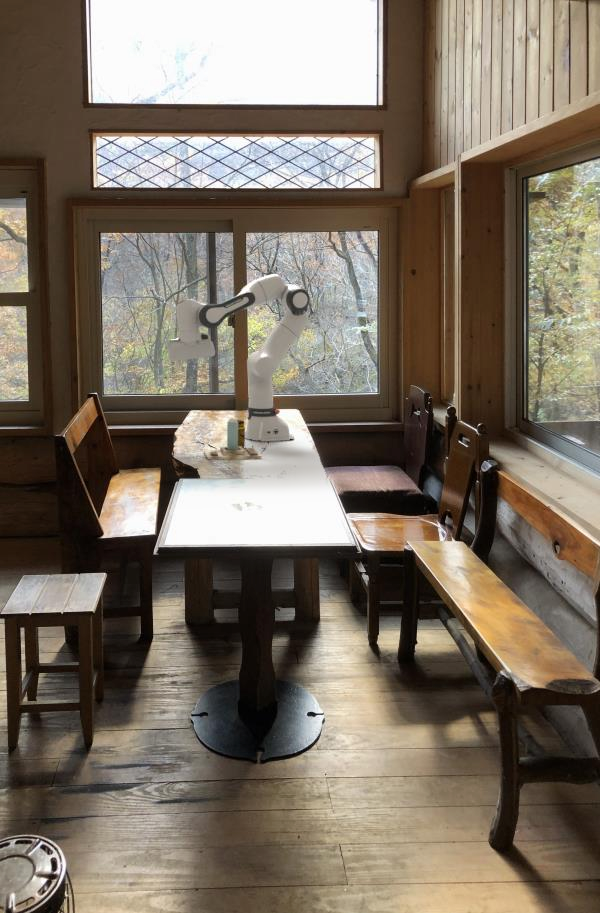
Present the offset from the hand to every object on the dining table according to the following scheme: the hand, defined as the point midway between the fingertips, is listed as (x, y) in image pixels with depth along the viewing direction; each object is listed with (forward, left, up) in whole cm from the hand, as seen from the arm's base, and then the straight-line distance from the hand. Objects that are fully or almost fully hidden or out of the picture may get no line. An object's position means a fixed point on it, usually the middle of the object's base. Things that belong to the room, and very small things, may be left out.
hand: (193, 369), depth 397 cm
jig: (-12, +31, -32) cm, 46 cm away
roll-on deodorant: (-12, +31, -31) cm, 45 cm away
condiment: (-16, +15, -32) cm, 39 cm away
